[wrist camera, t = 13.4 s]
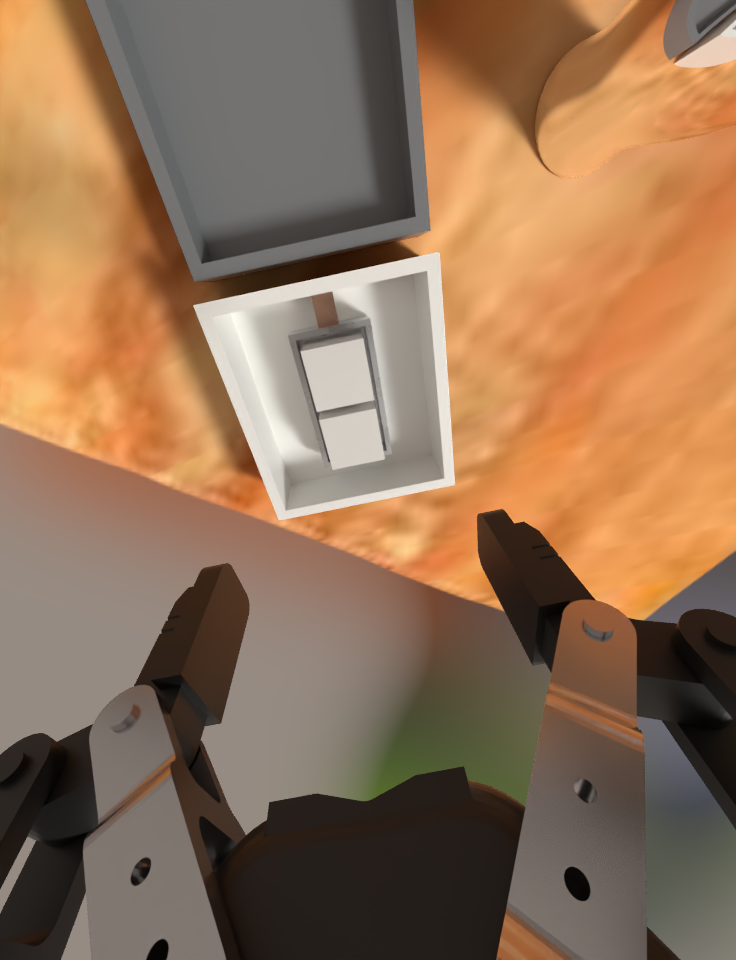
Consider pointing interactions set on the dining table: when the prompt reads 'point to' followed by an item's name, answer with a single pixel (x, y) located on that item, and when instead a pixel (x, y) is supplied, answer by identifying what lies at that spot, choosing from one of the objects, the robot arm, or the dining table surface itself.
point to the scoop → (331, 327)
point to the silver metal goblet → (640, 84)
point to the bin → (280, 397)
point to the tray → (274, 124)
